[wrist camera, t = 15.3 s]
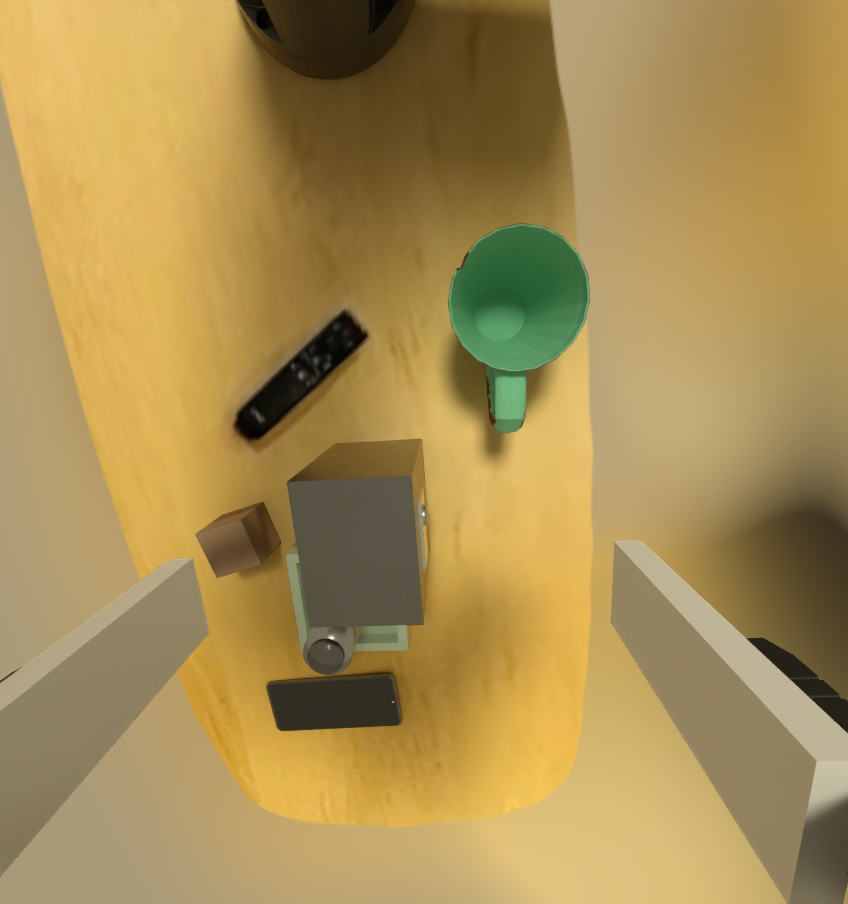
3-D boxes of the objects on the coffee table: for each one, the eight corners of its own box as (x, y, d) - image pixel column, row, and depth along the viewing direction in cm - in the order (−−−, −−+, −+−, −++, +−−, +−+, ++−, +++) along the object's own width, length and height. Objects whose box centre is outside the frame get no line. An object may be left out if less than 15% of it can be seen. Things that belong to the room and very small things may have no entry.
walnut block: (222, 514, 44) (195, 534, 39) (263, 501, 43) (240, 519, 38) (241, 554, 45) (217, 578, 40) (281, 541, 44) (261, 564, 39)
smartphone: (264, 684, 48) (393, 675, 46) (268, 677, 49) (394, 668, 48) (277, 733, 50) (402, 727, 48) (281, 725, 51) (403, 719, 49)
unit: (332, 444, 41) (282, 482, 29) (427, 438, 41) (419, 475, 28) (345, 550, 44) (305, 627, 31) (434, 546, 43) (430, 624, 31)
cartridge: (328, 577, 44) (297, 637, 34) (368, 576, 43) (347, 636, 34) (333, 613, 45) (303, 680, 35) (372, 611, 44) (352, 679, 35)
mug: (447, 260, 37) (448, 224, 27) (555, 257, 36) (596, 220, 26) (447, 418, 40) (447, 437, 30) (546, 417, 39) (579, 437, 30)
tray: (294, 543, 44) (285, 554, 42) (401, 539, 43) (398, 550, 41) (308, 637, 47) (301, 652, 44) (410, 634, 46) (408, 650, 44)
